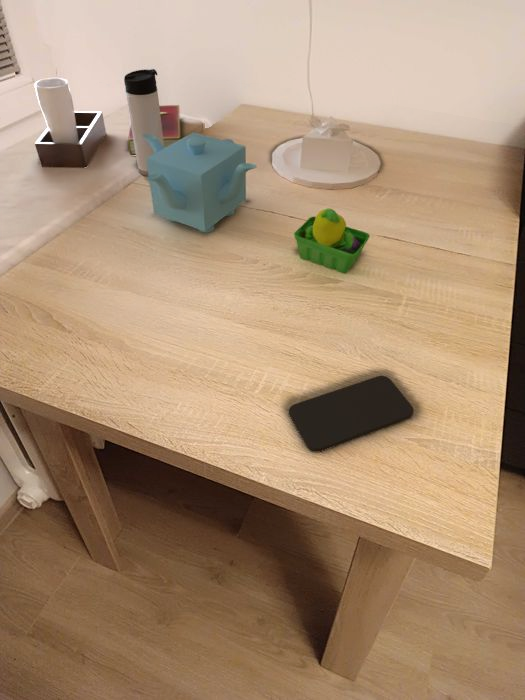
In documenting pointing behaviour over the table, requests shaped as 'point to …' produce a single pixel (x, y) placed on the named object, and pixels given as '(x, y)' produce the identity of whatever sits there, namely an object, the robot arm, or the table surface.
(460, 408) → the table surface
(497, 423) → the table surface
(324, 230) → the fruit basket
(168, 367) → the table surface
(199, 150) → the teakettle
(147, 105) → the travel mug
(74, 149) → the cup holder
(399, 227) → the table surface
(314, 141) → the dish
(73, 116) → the drinking glass
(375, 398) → the phone
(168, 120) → the hardcover book
